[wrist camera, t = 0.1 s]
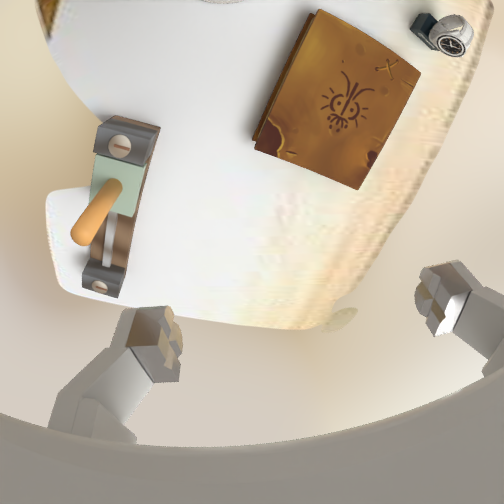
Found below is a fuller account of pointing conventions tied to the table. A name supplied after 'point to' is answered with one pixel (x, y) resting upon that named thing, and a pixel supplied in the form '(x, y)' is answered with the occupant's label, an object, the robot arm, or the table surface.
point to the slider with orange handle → (108, 195)
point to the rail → (115, 225)
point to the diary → (335, 101)
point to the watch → (444, 33)
